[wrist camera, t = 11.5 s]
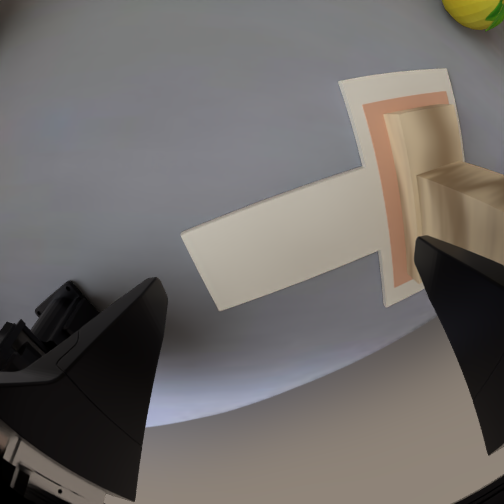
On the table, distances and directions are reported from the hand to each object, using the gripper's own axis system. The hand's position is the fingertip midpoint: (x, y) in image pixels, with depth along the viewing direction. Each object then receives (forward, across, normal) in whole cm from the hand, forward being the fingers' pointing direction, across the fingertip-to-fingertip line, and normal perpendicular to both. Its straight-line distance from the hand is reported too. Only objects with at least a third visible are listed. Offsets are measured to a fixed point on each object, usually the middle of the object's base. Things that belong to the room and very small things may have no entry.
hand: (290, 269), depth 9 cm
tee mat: (+12, -6, +4) cm, 14 cm away
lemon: (+15, -20, -15) cm, 29 cm away
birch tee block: (+12, -13, +3) cm, 18 cm away
